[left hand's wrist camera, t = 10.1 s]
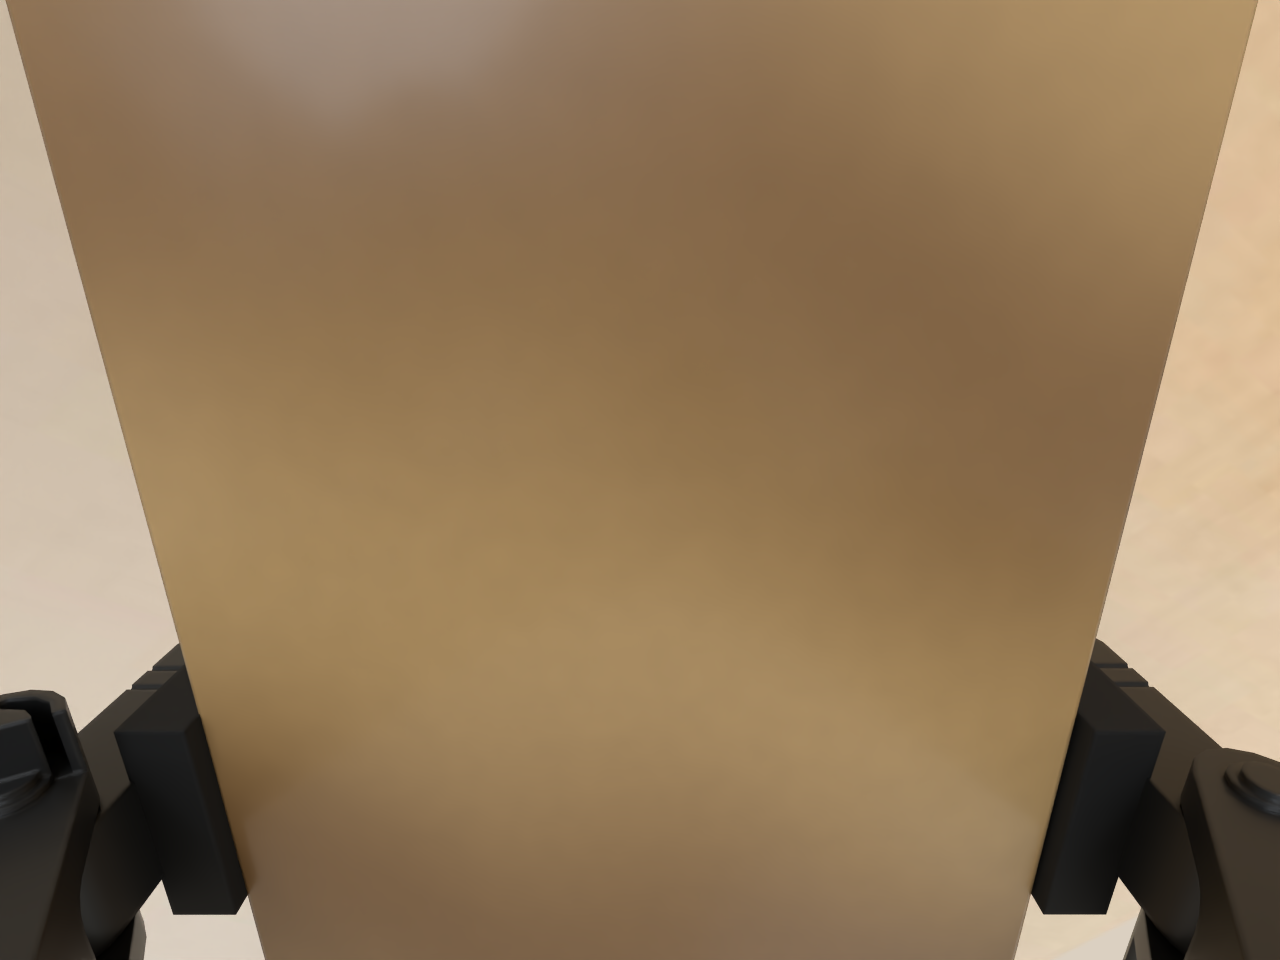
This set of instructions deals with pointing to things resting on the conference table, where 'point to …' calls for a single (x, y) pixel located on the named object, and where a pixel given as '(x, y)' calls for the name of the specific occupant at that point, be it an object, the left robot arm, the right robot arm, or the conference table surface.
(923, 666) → the beam
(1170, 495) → the conference table surface
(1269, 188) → the conference table surface
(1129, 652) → the conference table surface
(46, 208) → the conference table surface
